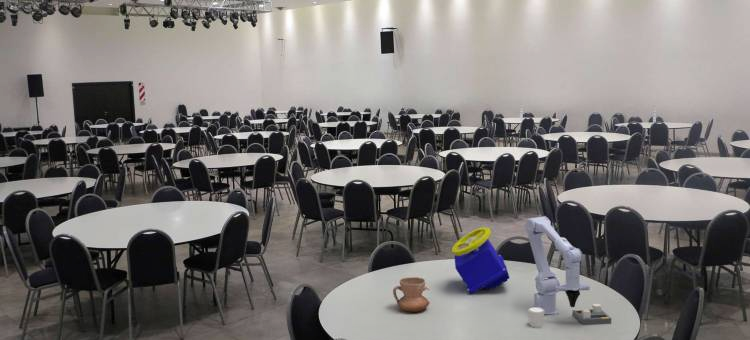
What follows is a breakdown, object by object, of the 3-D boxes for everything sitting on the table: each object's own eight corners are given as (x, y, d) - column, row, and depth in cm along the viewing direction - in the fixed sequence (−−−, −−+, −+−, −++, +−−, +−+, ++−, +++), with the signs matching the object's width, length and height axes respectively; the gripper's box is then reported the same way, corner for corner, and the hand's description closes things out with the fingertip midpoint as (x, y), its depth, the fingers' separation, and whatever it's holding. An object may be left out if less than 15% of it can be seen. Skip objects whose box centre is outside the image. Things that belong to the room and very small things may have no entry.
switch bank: (582, 324, 268) (582, 319, 268) (572, 315, 280) (572, 309, 279) (611, 323, 269) (611, 317, 269) (600, 313, 280) (600, 308, 280)
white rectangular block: (583, 320, 270) (583, 311, 269) (581, 318, 272) (581, 309, 272) (590, 320, 270) (590, 311, 269) (588, 318, 272) (588, 309, 272)
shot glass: (541, 321, 273) (541, 306, 272) (546, 327, 267) (546, 312, 266) (526, 322, 273) (526, 307, 272) (530, 328, 266) (530, 312, 265)
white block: (594, 314, 276) (594, 306, 275) (592, 312, 278) (592, 304, 278) (601, 314, 276) (601, 306, 276) (598, 312, 279) (599, 303, 278)
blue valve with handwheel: (515, 265, 328) (486, 219, 324) (522, 284, 302) (490, 235, 298) (474, 288, 333) (444, 243, 329) (477, 309, 307) (445, 261, 303)
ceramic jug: (433, 304, 298) (432, 276, 296) (428, 315, 284) (427, 285, 282) (397, 303, 302) (395, 275, 301) (390, 313, 288) (389, 284, 287)
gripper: (559, 280, 264) (559, 310, 265) (592, 278, 264) (592, 308, 266) (553, 275, 271) (553, 304, 272) (586, 273, 271) (585, 303, 273)
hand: (572, 306), depth 270 cm, fingers closed
